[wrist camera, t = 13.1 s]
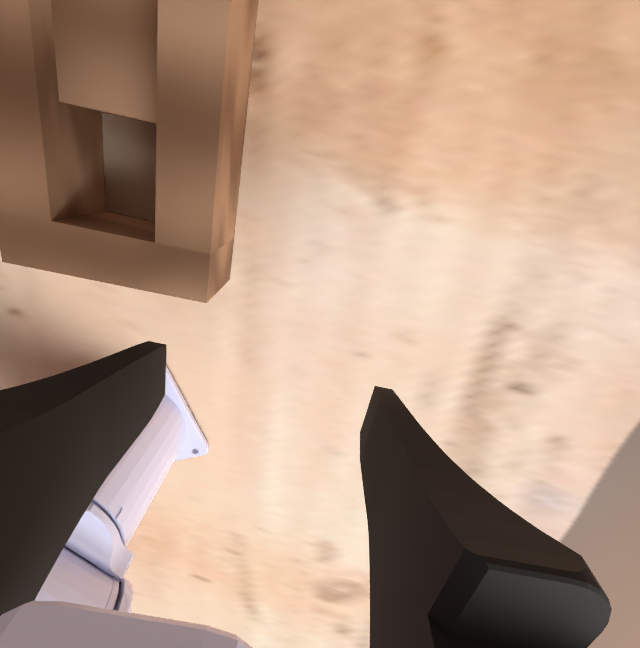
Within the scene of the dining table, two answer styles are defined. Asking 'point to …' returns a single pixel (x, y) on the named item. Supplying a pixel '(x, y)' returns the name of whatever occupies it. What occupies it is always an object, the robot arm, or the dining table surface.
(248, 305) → the dining table surface
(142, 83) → the walnut frame
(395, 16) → the dining table surface
